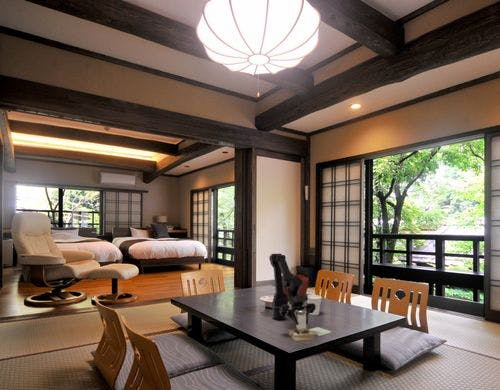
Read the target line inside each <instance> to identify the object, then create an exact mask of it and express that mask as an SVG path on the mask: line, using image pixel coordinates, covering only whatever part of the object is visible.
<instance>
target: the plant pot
mask: <svg viewBox="0 0 500 390" xmlns="http://www.w3.org/2000/svg"><path fill="white" fill-rule="evenodd" d="M293 275H294V276H297V277H298V278H300V279H301V280H302V281H303V284H302V286H301V288H300V290H299V291H298V294H299V295H303V294H307V292H308V286H309V280H310V279H309V278H308V277H307V276H304V275H303V274H293ZM282 278H283V275H282ZM288 288H289V287H284V286H283V292H284V293H285V294H286V295H287V300H288V302H289V301H290V300H289V297H288V294H287V289H288Z"/></svg>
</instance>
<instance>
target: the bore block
mask: <svg viewBox="0 0 500 390" xmlns="http://www.w3.org/2000/svg"><path fill="white" fill-rule="evenodd" d="M309 329H310V328H307V327H306V334H297V333H296V328H290V329H288V335H289V336H290V337H291V338H292V339H293V340H294V341H295V342H301V341H313V340H316V337H315V336H316V335H315V334H314V333H312V332H311V331H310V330H309Z"/></svg>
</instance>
